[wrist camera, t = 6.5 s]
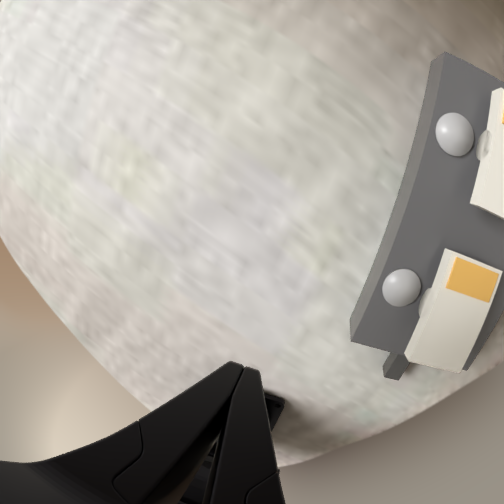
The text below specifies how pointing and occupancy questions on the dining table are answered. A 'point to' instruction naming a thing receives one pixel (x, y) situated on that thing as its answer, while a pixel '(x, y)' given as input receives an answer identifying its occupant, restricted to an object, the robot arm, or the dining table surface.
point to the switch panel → (433, 215)
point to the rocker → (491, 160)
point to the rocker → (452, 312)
